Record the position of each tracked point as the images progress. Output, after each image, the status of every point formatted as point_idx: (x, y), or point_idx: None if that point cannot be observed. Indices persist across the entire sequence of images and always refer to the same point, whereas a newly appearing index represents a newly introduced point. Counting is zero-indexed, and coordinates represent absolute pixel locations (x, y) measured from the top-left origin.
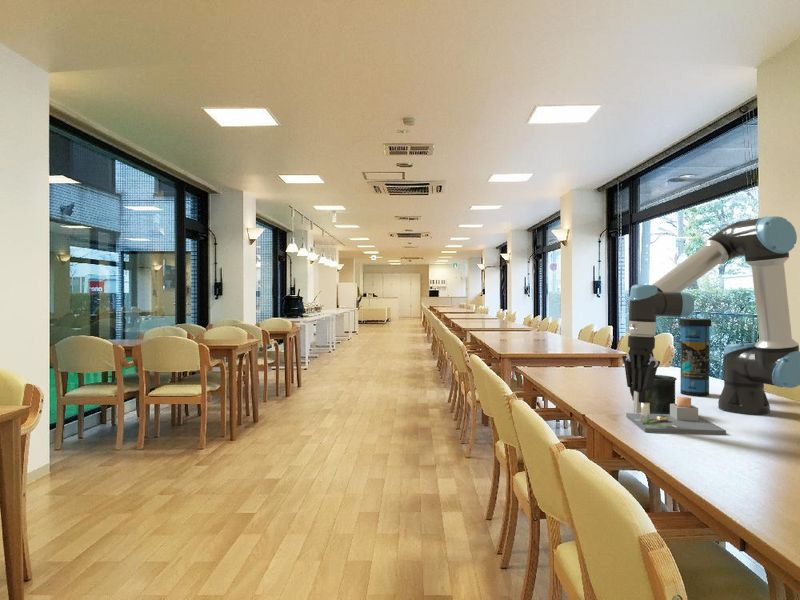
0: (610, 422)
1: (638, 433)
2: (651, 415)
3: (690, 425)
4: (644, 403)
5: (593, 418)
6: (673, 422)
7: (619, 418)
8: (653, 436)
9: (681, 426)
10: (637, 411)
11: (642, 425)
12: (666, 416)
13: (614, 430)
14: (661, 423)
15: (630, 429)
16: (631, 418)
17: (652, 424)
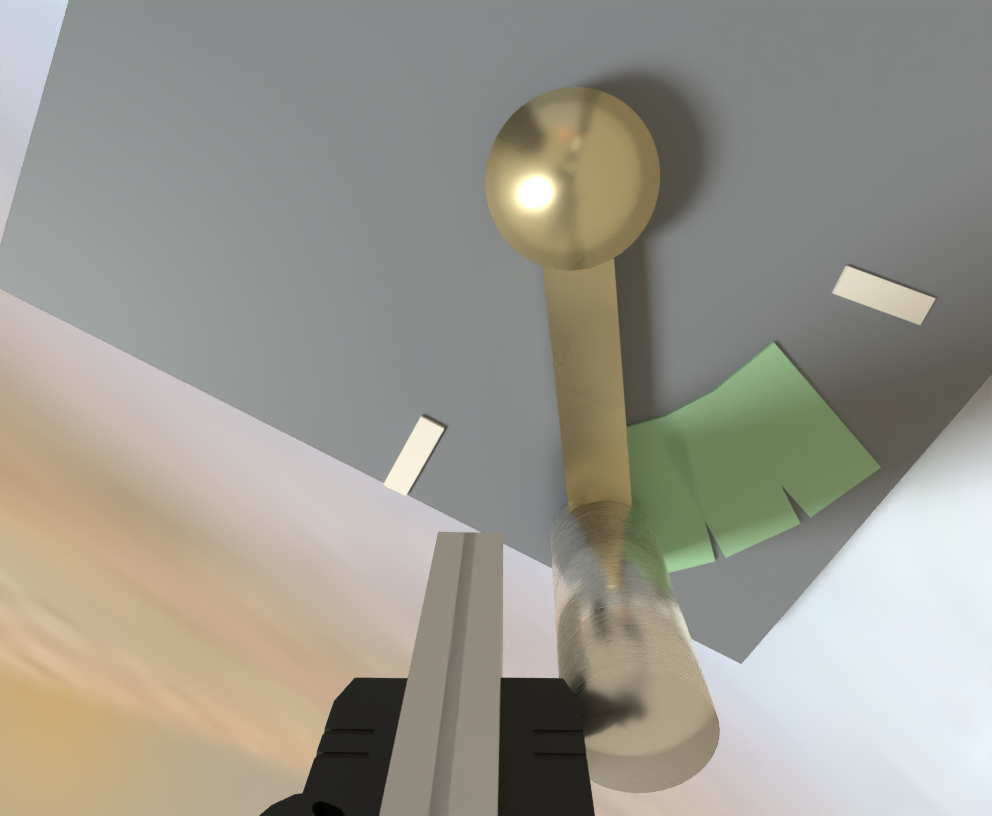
0: (254, 636)
1: (725, 711)
2: (209, 26)
3: (984, 3)
4: (664, 772)
5: (49, 662)
6: (714, 98)
7: (98, 418)
8: (880, 676)
9: (937, 204)
10: (502, 645)
11: None
12: (587, 98)
13: None
14: (675, 324)
15: None
16: (252, 408)
17: (672, 485)
